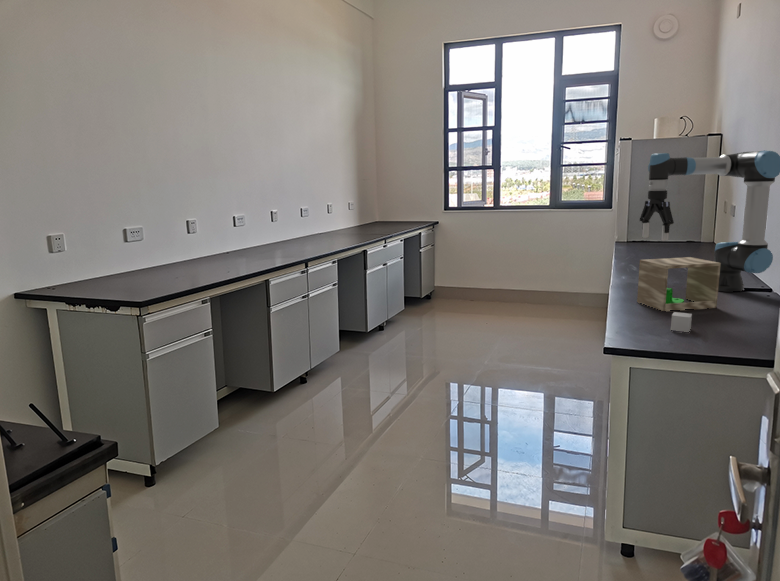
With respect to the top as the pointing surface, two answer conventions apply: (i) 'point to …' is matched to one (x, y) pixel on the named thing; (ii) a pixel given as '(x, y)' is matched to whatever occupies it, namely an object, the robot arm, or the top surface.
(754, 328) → the top surface
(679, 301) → the mechanical part
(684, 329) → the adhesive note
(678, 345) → the top surface
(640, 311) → the top surface
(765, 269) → the robot arm
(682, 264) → the cubby box
